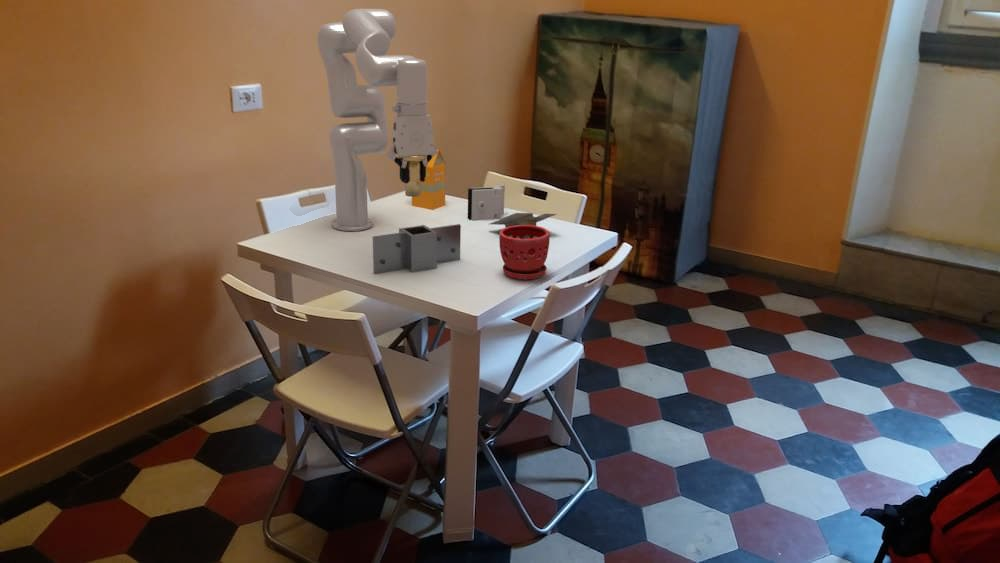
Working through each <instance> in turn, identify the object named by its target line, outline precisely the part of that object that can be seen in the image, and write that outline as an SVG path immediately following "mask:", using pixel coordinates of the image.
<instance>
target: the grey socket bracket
mask: <svg viewBox="0 0 1000 563" xmlns="http://www.w3.org/2000/svg"><path fill="white" fill-rule="evenodd" d="M461 228H462V226H461V224H460V223H457V224H450V225H443V226H438V227H436V226H435V227H431V228H430V227H429V226H427V225H425V224H422V225H421V224H420V225H415V226H407V227H400V228H398V232H395V233H388V234H381V235H374V236H372V262H373V263H372V265H373V266H372V268H373V269H372V270H373V274H374V275H376V274H382V273H387V272H394V271H399V270H405V269H406V270H407V271H409V272H410V273H416V272H417V273H418V272H421V271H427V270H429V271H430V270H433V269H438V264H441V263H442V264H443V263H446V262H453V261H458V260H461V234H462V233H461Z"/></svg>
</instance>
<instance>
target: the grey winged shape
mask: <svg viewBox="0 0 1000 563" xmlns="http://www.w3.org/2000/svg"><path fill="white" fill-rule="evenodd" d="M557 215H558V214H557V213H543V214H541V215H538V216H534V213H533V212H532V213H531V212H515V213H512V214H509V215H507V216H505V217H503V218H502V217H501V218H500V219H497V220H495V221H492V222H490V223H487V225H499V226H500V225H502V226H503V225H504V228H506V227H509V226H516V225H533V226H537V223H539V222H541V221H544V220H547V219H548V218H551V217H554V216H557ZM524 237H529V236H528V235H525V236H524Z"/></svg>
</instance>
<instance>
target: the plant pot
mask: <svg viewBox="0 0 1000 563" xmlns="http://www.w3.org/2000/svg"><path fill="white" fill-rule="evenodd" d="M525 235H528V236H527V237H528V238H525V237H526V236H525ZM498 238H499V242H498V243H499V251H500V256H501V259H502V262H503V263H504V264H503V265H502V271H503V272H504V274H505V275H506V276H508V277H510V278H514V279H518V280H522V281H524V280H533V279H537V278H539V277H542V276H544V275H545V274H546V272H547V270H548V269H547V266H546V265H545V263H546V261H547V258H548V254H549V247H550V238H551V237H550V231H549V230H548V229H546V228H545V227H542V226H538V225H536V226H533V225H516V226H509V227H503V228H502V229H501V230H500V231H499V237H498Z"/></svg>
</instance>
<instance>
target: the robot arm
mask: <svg viewBox="0 0 1000 563" xmlns="http://www.w3.org/2000/svg"><path fill="white" fill-rule="evenodd" d="M396 32H397V23H396V20H395V16H394V15H393V13H392V12H390V11H389V10H387V9H384V8H354V9H350V10H349V11H347V12H346V13H345V14H344V16H343V18H342V21H338V22H337V21H336V22H330V23H329V22H328V23H326V24H323V25H321V26H320V28H319V29H318V32H317V46H318V53H319V55H320V59H321V60H322V63H323V66H324V68H325V71H326V78H327V86H328V93H329V94H328V96H329V103H330V108H331V112H332V114H333V116H335V117H336V118H338V119H357V118H366V120H367V121H361V122H360V121H359V122H344V123H339V124H337V125H335V126H333V127H332V128H331V129H330V132H329V143H330V148H331V152H332V158H333V160H332V161H333V167H334V168H333V169H334V170H333V171H334V172H333V173H334V185H335V186H334V190H335V192H334V193H335V209H336V212H335V213H336V219H333V220H332V221H331V227H332V229H333V228H334V229H335V230H338V231H343V232H344V231H345V232H360V231H364V230H368V229H370V228H372V227H373V225H374V221H373V220H372V219H371V218H369V217H368V216H369V215H368V183H367V182H368V180H367V168H366V166H365V164H364V163H363V162H362V161H361V160H360V158H359V156H362V155H370V154H379V153H383V152H385V151H386V149H387V148H388V145H389V133H388V122H387V113H386V106H385V105H386V104H385V99H384V96H383V93H382V91H381V89H380V88H379V87H396V103H395V105H392V106H391V110H392V112H394V113H396V114H395V115H394V119H393V124H392V134H391V135H392V136H391V146H390V148H389V150H388V152H387V153H386V157H387V158H388V159H389V160H392V161H393V162H394V163H395V164H396V165H397V166H398V167H399V179H400V181H401V182H402V183H404V184H405V183H408V168H406V165H407V161H404V157H409V156H421V155H426V159H425V160H423V161H421V181H422V182H424V181H425V177H426V166H427V165H428V162H429V161H430V160H431V159H432V157H434V156H435V155H436V154H437V153H438V151H437V149H438V148H437V147H435V140H434V139H435V137H434V136H435V135H434V129H433V128H434V127H433V121H432V118H431V114H428V65H427V62H426V61H425V60H424V59H420V58H416V57H415V56H412V55H408V54H405V55H404V54H402V55H401V54H400V55H397V54H393V55H387V53H388V52H389V50H390V48H391V41H392V40H393V39H394V37H395V35H396ZM346 54H355V63H356V64H355V65H356V67H355V65H354V64H353V62H352V61H351V60H350V59H349V58H348V57H347V56H346ZM356 68H357V70H356ZM357 71H358V73H359V74H360V76H361V77H362V78H363V79H364V80H365V81H366V82H367V83H368V84H358V78H357ZM395 154H396V155H398V157H397V156H396V155H395ZM400 156H401V157H403V158H402V160H400Z"/></svg>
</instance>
